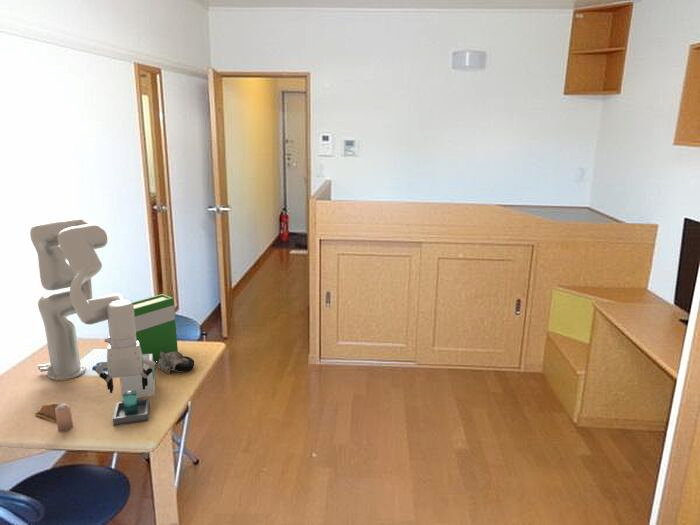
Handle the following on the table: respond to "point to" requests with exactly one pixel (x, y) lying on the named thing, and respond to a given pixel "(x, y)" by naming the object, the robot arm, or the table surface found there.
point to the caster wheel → (175, 362)
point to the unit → (140, 381)
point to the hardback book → (156, 325)
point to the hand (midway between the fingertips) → (128, 389)
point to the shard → (48, 412)
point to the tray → (122, 419)
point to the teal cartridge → (130, 402)
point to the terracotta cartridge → (63, 417)
